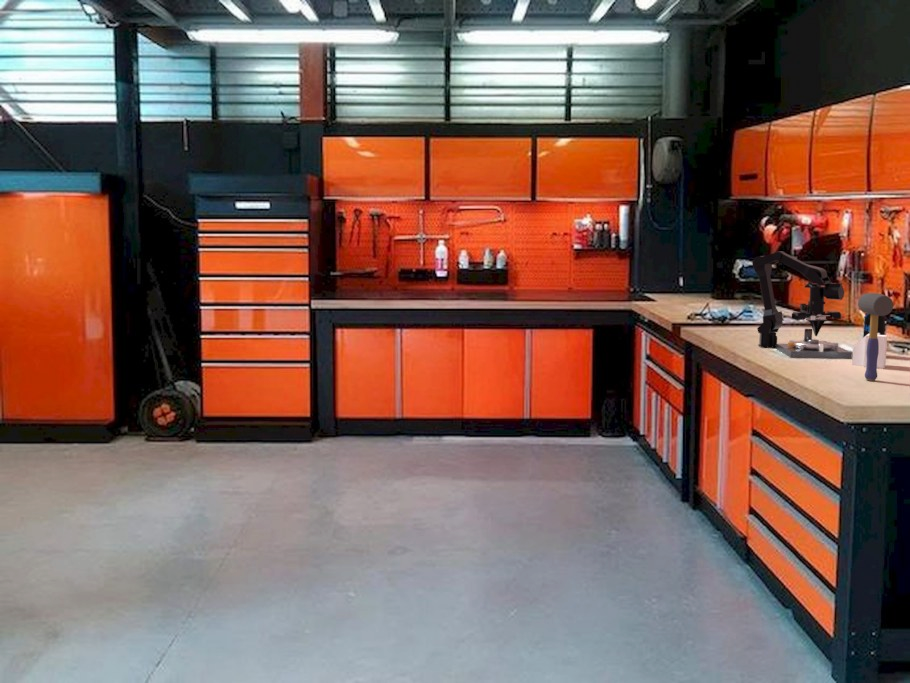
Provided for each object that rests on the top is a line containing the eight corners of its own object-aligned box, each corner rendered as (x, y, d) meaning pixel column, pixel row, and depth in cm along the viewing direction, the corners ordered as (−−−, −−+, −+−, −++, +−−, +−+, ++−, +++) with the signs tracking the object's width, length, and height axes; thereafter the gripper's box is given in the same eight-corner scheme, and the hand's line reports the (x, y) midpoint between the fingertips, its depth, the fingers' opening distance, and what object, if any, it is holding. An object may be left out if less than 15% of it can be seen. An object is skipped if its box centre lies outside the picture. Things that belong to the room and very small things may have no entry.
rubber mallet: (851, 377, 330) (856, 291, 326) (872, 377, 330) (878, 291, 326) (868, 383, 318) (873, 294, 314) (890, 383, 318) (896, 294, 314)
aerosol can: (882, 355, 385) (885, 306, 382) (884, 358, 377) (887, 308, 375) (860, 354, 387) (863, 305, 385) (862, 357, 380) (865, 307, 377)
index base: (790, 357, 378) (791, 343, 377) (775, 349, 401) (776, 336, 400) (851, 358, 376) (852, 344, 375) (833, 350, 399) (834, 337, 398)
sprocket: (846, 350, 378) (847, 333, 377) (795, 350, 378) (796, 333, 378) (828, 344, 397) (829, 328, 396) (781, 343, 398) (781, 327, 397)
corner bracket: (883, 368, 350) (885, 336, 348) (850, 366, 356) (852, 334, 354) (887, 365, 359) (889, 333, 357) (855, 362, 365) (857, 331, 363)
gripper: (831, 296, 400) (830, 333, 402) (787, 297, 400) (786, 334, 402) (842, 298, 389) (841, 336, 391) (797, 299, 389) (796, 337, 391)
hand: (815, 336), depth 394 cm, fingers closed
